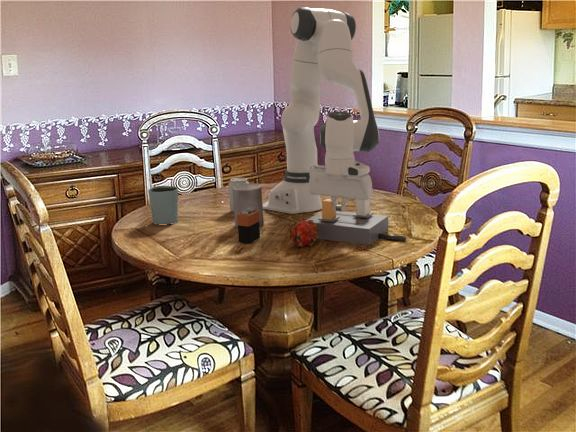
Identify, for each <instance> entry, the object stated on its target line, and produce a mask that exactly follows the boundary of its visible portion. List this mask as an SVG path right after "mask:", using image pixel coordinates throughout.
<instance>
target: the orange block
mask: <svg viewBox="0 0 576 432" xmlns="http://www.w3.org/2000/svg"><path fill="white" fill-rule="evenodd" d="M321 203H322V209H321V212H322V217H321V218H319V219H318V220H321V221H330V222H334V221H335V220H337V219H339V218H340V216H336V211H335V210H334V205H333V203H332V201H331V198H325V199H324V200H321Z"/></svg>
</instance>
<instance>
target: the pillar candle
mask: <svg viewBox="0 0 576 432" xmlns="http://www.w3.org/2000/svg"><path fill="white" fill-rule="evenodd" d="M248 182H249V181H248ZM248 182H247V183H245V184H238V185H235V186H233V201H234V212H233V213H234V214H233V215H234V225H235V226H234V227H235V228H236V229H238V225H237V215H238V214H239V213H241V212H242V211H246V210H247V209H248V208H250V207H251V208H254V210H258V211H259V222H260V228H262V227H263V226H264V224H265V223H264V221H265V220H264V219H265V218H264V209H263V204H264V203H263V193H262V192H263V191H262V190H263V189H262V184H261V183H260V184H259V183H254V182H253V183H252V182H249V183H248Z"/></svg>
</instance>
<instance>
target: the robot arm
mask: <svg viewBox="0 0 576 432" xmlns="http://www.w3.org/2000/svg"><path fill="white" fill-rule="evenodd" d="M356 29H357V23H356V20H355V18H354V16H353V15H352V14H350V13H348V12H345V11H342V12H341V11H338V10H334V9H330V8H318V7H317V8H313V7H312V8H311V7H308V6H305V7H304V6H303V7H298V8H297V9H296V10H295V11H293V13H292V16H291V20H290V32H291V34H292V36H293V37H294V38H295V39H296V43H295V47H294V52H293V56H292V57H293V58H292V62H291V63H292V65H291V71H290V78H289V85H290V101H289V104H288V105H287V106H286V107H285V108H284V110H283V111H282V114H281V116H280V117H281V118H280V122H281V126H282V132H283V138H284V142H285V143H284V144H285V150H286V168H287V169H286V170H284V171H283V172H281V173H280V174H281V175H280V176H281V177H283V178H282V181H280V182H279V183H278V184H277V185H276V186H274V187H273V188H272V189H271V190H270V191H269V194H268V201H266V202H263V203H262V204H263V210H268V211H275V212H279V213H284V214H289V215H290V214H291V215H292V214H299V213H300V214H301V213H311V212H315V211H320V210H322V199H321V196H322V197H323V196H325V197H330V199H331V201H332V203H333V205H334V210H335V211H341V212H344V211H346V205H347V203H348V202H349V200H356V199H358V200H368V199H369V198H370V199H371V197H372V196H373V182H372V178H371V176H370V174H369V173H370V171H371V168H370V166H369V165H368V164H366V163H362V162H360V161H358V160H356V159H355V152H361V153H370V152H372V151H374V149H376V148H377V147H378V146H379V144H380V143H379V141H380V131H379V127H378V125H377V121H376V117H375V113H374V108H373V104H372V99H371V94H370V90H369V86H368V82H367V78H366V75H365V72H364V70H361V69H360V68H359V67H358V66H357V65H356V62H355V60H354V55H353V42H352V41H353V39H354V37H355V34H356ZM323 78H324V79H325V80H326V81H328V82H329V83H331V84H333V85H335V86H339V87H341V88H345V89H347V90H348V91H350V92H352V93H353V94H354V96H355V98H356V102H357V106H358V112H359V116H360V119H353V114H351V113H349V112H346V111H333V112H330V113H328V114H327V116H326V121H325V122H324V123H322V124H321V126H320V127H319V132H320V133H319V134H320V138H319V139H320V141H319V146H320V147H321V148H323V149H324V150H325V151H326V152H325V155H324V165H323V164H321V165H320V164H318V148H317V142H316V137H315V129H314V127H315V126H316V125H317V124H318V122H319V119H320V113H321V112H320V111H321V89H322V81H323ZM339 198H340V199H341V202H342V204H339V202H338V199H339Z"/></svg>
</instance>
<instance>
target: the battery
mask: <svg viewBox="0 0 576 432" xmlns="http://www.w3.org/2000/svg"><path fill="white" fill-rule="evenodd" d="M237 225H238V228H237V236H238V237H237V238H238V243H241V244H248V245H251V244H252V243H253V242H256V241H258V240H259V239H260V238H261V227H260V222H259V211H258V210H254V208H251V207H250V208H248V209H247V210H246V211H242V212H241V213H239V214H238V215H237Z"/></svg>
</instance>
